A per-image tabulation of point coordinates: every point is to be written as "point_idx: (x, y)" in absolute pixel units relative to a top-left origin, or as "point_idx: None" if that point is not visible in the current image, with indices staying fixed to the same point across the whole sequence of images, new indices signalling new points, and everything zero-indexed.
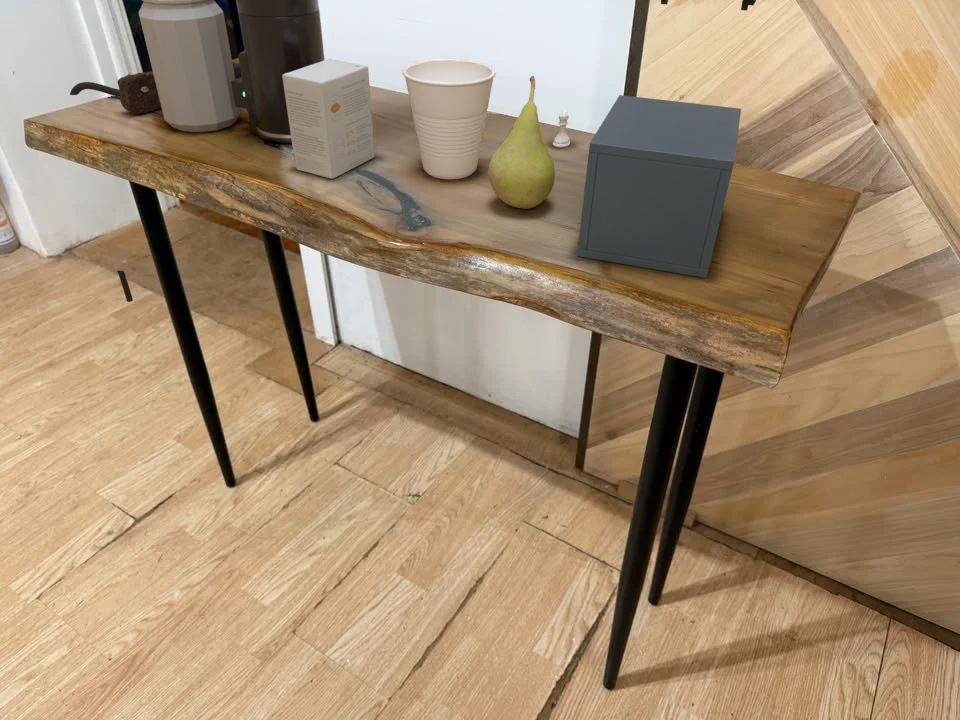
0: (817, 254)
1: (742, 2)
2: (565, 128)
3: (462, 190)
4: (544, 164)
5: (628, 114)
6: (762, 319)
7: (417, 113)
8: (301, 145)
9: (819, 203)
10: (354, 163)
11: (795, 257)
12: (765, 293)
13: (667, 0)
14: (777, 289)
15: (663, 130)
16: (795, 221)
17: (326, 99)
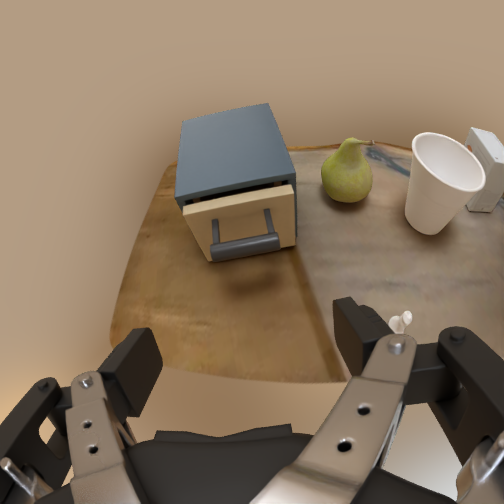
0: (141, 230)
1: (152, 333)
2: (399, 322)
3: (390, 195)
4: (326, 162)
5: (265, 140)
6: (176, 163)
7: (439, 161)
8: None
9: (130, 313)
10: None
11: (154, 220)
12: (173, 180)
13: (335, 330)
14: (167, 186)
15: (230, 131)
16: (149, 270)
17: (468, 137)
